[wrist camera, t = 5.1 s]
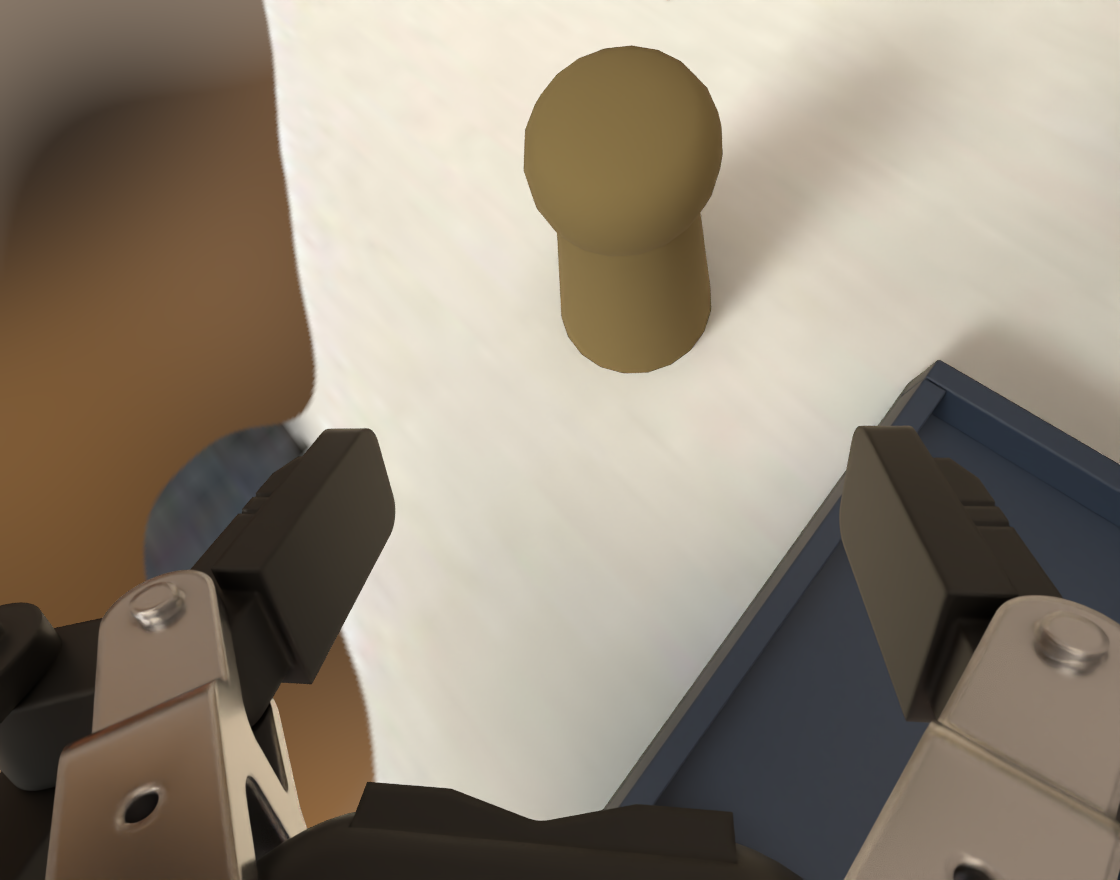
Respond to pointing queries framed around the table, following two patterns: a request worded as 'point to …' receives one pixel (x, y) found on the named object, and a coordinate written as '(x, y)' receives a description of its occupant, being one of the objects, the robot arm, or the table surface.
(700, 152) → the cork
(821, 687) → the pan
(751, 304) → the table surface
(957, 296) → the table surface
